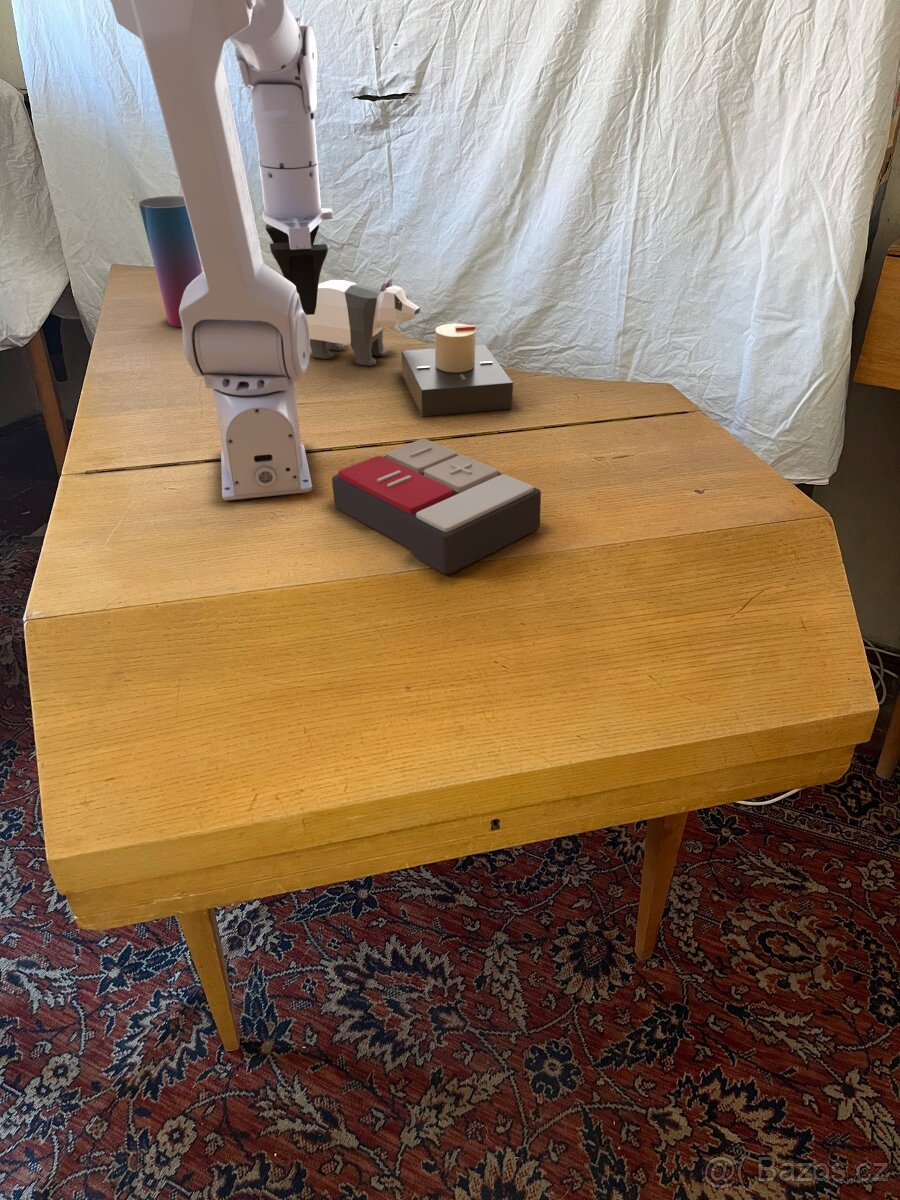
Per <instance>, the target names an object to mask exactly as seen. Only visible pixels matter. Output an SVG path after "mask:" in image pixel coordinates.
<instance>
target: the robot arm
mask: <svg viewBox="0 0 900 1200" xmlns="http://www.w3.org/2000/svg"><path fill="white" fill-rule="evenodd" d="M109 2H110V3H111V5H112V9H113V13H114V17H115V21H116V22H117V24H118V25H119V26H121V27H122V28H124V29H125V30H127V31H129V32H130V33H131V34H133V35H134V36H136V37H137V38H139V39H140V40H141V44H142V47H143V50H144V53H145V57H146V61H147V64H148V67H149V71H150V75H151V79H152V81H153V85H154V90H155V93H156V98H157V101H158V105H159V108H160V113H161V116H162V119H163V123H164V127H165V132H166V135H167V138H168V142H169V147H170V149H171V150H170V151H171V154H172V159H173V163H174V165H175V169H176V174H177V178H178V181H179V185H180V189H181V192H182V197H184V200H185V204H186V208H187V212H188V216H189V219H190V223H191V227H192V231H193V235H194V239H195V242H196V246H197V250H198V254H199V258H200V261H201V267H202V273H201V274H200V275H199V276H197V277H196V278H195V279H194V280H193V281H192V282H191V283H190V284H189V285H188V286H187V288H186V289H185V291H184V294H183V297H182V300H181V304H180V308H179V315H180V319H181V324H182V327H181V330H182V346H183V351H184V356H185V359H186V362H187V365H188V366H189V368H190V369H191V370H192V372H193V373H194V374H195V375H196V376H197V377H200V378H202V377H203V380H204V387H205V388H206V389H212V392H213V399H214V405H215V410H216V416H217V424H218V429H219V436H220V443H221V449H222V451H220V466H221V468H220V469H221V470H220V471H221V497H222V500H224V501H234V500H235V501H236V500H244V499H245V500H246V499H255V498H263V497H265V498H266V497H272V496H273V497H275V496H285V495H294V494H306V493H310V492H312V491H313V484H312V479H311V474H310V469H309V464H308V459H307V454H306V448H305V445H304V444H303V443H302V439H301V431H300V421H299V412H298V401H297V391H296V381H299V380H301V379H302V378H303V376H304V375H305V373H306V372H307V371H308V368H309V364H310V363H309V362H310V356H311V355H310V354H311V346H310V333H309V325H308V320H307V317H306V315H313V314H315V310H316V304H317V293H318V285H319V284H320V283H319V282H320V276H321V272H322V268H323V265H324V262H325V260H326V257H327V255H328V252H329V247H328V244H327V243H321V244H320V243H319V244H315V240H316V236H317V234H318V231H319V229H320V226H319V225H320V224H321V223H322V222H324V221H326V220H333V219H334V211H333V209H332V208H329V207H324V208H323V207H322V204H321V190H320V189H321V188H320V176H319V164H318V163H319V162H318V149H317V148H318V147H317V136H316V124H315V123H316V122H315V111H316V110H317V108H318V107H317V106H318V104H317V103H318V98H317V97H318V96H317V77H318V50H317V43H316V42H317V41H316V37H315V32H314V29H313V27H312V25H310V24H307V25H306V24H305V22H304V20H303V19H302V18H301V17H299V18H297V17H295V15H294V13H293V11H292V9H291V7H290V4H289V3H288V0H109ZM229 39H230V41H231V42H232V44H233V46H234V47H235V57H236V61H237V63H238V65H239V70H240V74H241V79H242V81H243V84H244V87H245V88H246V89H248V90H251V93H250V94H251V102H252V110H253V119H254V120H253V121H254V128H255V138H256V147H257V156H258V164H259V174H260V181H261V182H260V183H261V190H262V200H263V209H264V211H262V219H263V220H262V221H263V222H264V223H265V226H264V227H265V231H266V232H267V234H268V236H269V238H270V239H271V241H272V243H271V242H270V243H269V248H270V252H271V255H272V257H273V258H274V260H275V262H276V263H277V265H278V267H279V269H280V272H281V273H282V275H281V274H280V273H279V272H277V271H276V270H274V269H273V268H271V267H270V266H269V265H267V264H265V263H264V260H263V255H262V251H261V245H260V240H259V234H258V230H257V225H256V220H255V214H254V211H253V210H254V209H253V205H252V200H251V195H250V190H249V184H248V180H247V176H246V170H245V165H244V160H243V155H242V151H241V150H242V149H241V143H240V140H239V135H238V130H237V125H236V121H235V119H236V118H235V114H234V109H233V104H232V100H231V99H232V98H231V95H230V90H229V85H228V79H227V75H226V70H225V63H224V60H223V52H224V47H225V43H226V41H228V40H229Z"/></svg>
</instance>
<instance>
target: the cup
mask: <svg viewBox="0 0 900 1200" xmlns="http://www.w3.org/2000/svg"><path fill="white" fill-rule="evenodd" d="M138 207H139V208H140V209H139V211H140V214H141V218H142V222H143V226H144V230H145V233H146V239H147V242H148V246H149V249H150V255H151V258H152V263H153V266H154V270H155V274H156V278H157V282H158V287H159V290H160V293H161V294H160V295H161V298H162V302H163V307H164V310H165V314H166V318H167V323H168V324H169V325H170V326H172V327H177V328H182V324H181V319H180V315H179V308H180V304H181V300H182V297H183V294H184V291H185V289H186V288H187V286H188V285H189V284H190V283H191V282H192V281H193V280H194V279H195V278H196V277H197V276H199V275H200V274H201V273H202V272H203V269H202V265H201V261H200V258H199V254H198V250H197V246H196V242H195V239H194V235H193V231H192V227H191V223H190V219H189V216H188V212H187V208H186V204H185V200H184V196H183V195H182V196H181V195H167V196H166V195H165V196H164V195H163V196H155V197H149V198H145V199H142V200H140V201H139V202H138Z"/></svg>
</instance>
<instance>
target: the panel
mask: <svg viewBox="0 0 900 1200" xmlns="http://www.w3.org/2000/svg"><path fill="white" fill-rule="evenodd" d="M401 376H402V378H403V380H404V383H405V384H406V386H407V389H408V390H409V392H410V394H411V397H412V398H413V400H414V403H415V404H416V407H417V409H418V411H419V413H420V415H421V417H432V416H445V415H454V414H466V413H477V412H478V413H479V412H480V413H481V412H489V411H501V410H503V411H504V410H511V409H512V408H513V391H514V390H513V389H514V382H513V381H512V379H511V378H510V377H509V375H508V374H507V373H506V371H505V370H504V369H503V367H502V366H501V365H500V363H499V362H498V361H497V359H496V357H494V355H493V354H492V353H491V352H490V349H489V348H488V347H487V346H486V344H477V345H476V344H475V366H474V368H473V369H471V370H469V371H466V372H459V373H452V372H445V371H442V370H439V369H438V368H437V367H436V366H435V348H434V347H433V348H420V349H405V350H401Z"/></svg>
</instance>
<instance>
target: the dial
mask: <svg viewBox="0 0 900 1200" xmlns="http://www.w3.org/2000/svg"><path fill="white" fill-rule="evenodd" d="M434 331H435V335H434V336H435V337H434V339H435V341H434V344H435V345H434V347H435V366H436V367H437V368H438V369H439V370H442V371H445V372H452V373H459V372H466V371H469V370H471V369H473V368H474V366H475V345H476V340H477V339H476V335H477V330H476V326H475V324H465V323H454V322H453V323H445V324H441V325H439V326H437V327H436V328H435V330H434Z"/></svg>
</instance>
